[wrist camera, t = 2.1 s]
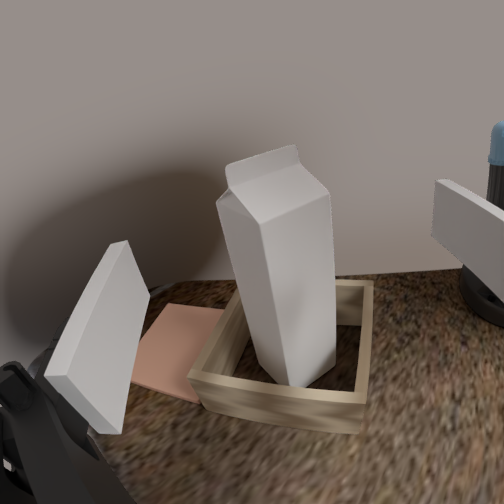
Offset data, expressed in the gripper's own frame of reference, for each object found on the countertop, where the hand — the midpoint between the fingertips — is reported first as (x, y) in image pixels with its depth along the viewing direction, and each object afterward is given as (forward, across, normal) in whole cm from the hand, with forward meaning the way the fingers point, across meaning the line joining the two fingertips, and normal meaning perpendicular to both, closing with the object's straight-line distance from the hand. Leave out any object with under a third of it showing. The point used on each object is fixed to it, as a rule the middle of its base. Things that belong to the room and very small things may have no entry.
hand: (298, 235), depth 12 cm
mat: (+16, -13, -21) cm, 29 cm away
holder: (+10, 0, -21) cm, 23 cm away
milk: (+10, 0, -21) cm, 23 cm away
